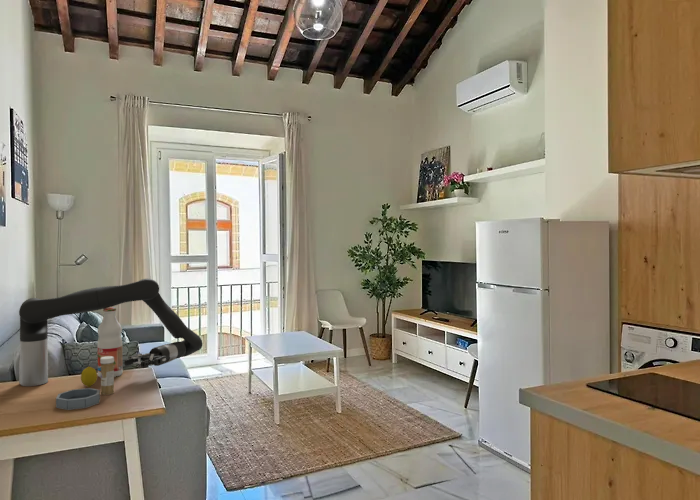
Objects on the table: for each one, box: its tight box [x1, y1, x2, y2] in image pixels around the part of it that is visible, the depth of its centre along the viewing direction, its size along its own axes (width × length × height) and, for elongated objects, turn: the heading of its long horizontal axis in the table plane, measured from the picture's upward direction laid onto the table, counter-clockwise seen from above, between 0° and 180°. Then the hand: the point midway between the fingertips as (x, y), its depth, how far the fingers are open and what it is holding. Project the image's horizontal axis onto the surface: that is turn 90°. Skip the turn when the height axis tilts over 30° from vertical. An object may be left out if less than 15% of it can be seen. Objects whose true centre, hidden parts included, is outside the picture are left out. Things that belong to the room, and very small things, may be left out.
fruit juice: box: [96, 307, 124, 378], centre depth 215 cm, size 9×9×28 cm
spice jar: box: [100, 356, 115, 396], centre depth 190 cm, size 5×5×14 cm
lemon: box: [80, 366, 98, 388], centre depth 198 cm, size 6×6×8 cm
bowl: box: [55, 387, 101, 411], centre depth 179 cm, size 13×13×3 cm
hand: (133, 364), depth 201 cm, fingers open, 8 cm apart
